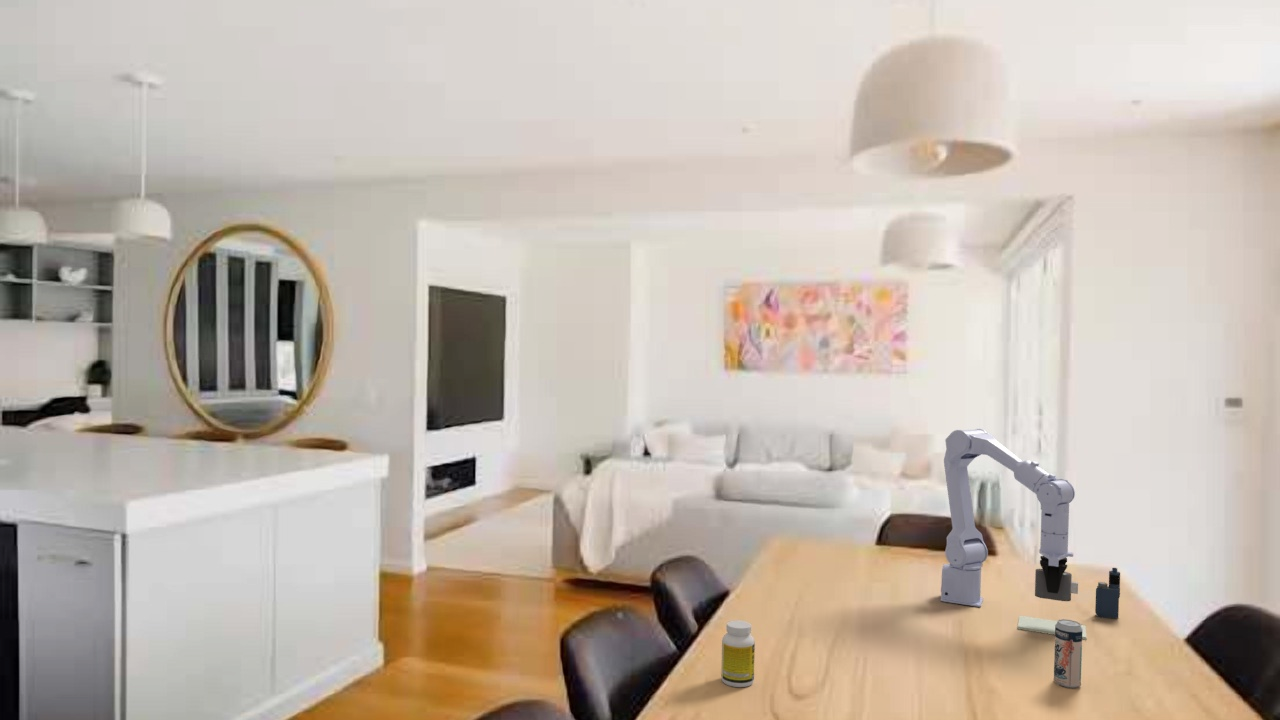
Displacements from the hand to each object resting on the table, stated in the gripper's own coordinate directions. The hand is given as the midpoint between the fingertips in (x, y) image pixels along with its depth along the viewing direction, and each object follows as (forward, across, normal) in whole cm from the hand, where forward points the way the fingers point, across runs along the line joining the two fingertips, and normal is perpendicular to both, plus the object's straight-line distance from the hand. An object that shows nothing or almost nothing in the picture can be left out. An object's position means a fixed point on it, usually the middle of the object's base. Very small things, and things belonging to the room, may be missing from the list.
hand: (1052, 590), depth 192 cm
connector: (+2, 0, 0) cm, 2 cm away
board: (+9, 0, 0) cm, 9 cm away
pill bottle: (+9, -66, +53) cm, 85 cm away
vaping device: (+9, +17, -12) cm, 23 cm away
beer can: (+9, -35, -3) cm, 36 cm away
